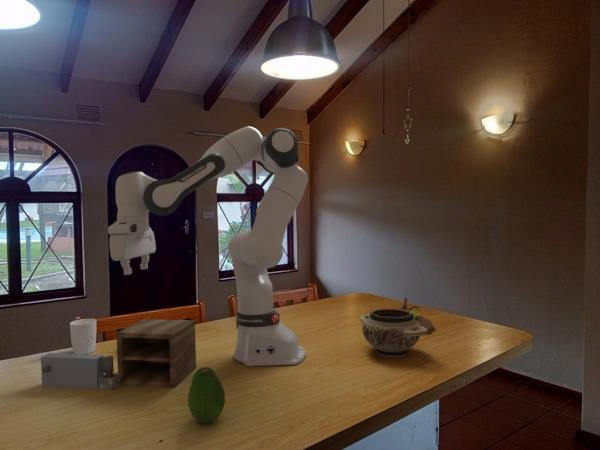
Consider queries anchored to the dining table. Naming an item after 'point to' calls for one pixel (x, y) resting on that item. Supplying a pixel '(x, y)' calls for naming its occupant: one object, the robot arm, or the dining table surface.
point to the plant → (419, 318)
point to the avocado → (206, 396)
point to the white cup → (83, 336)
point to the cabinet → (153, 354)
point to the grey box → (75, 370)
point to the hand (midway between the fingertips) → (136, 271)
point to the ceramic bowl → (391, 331)
